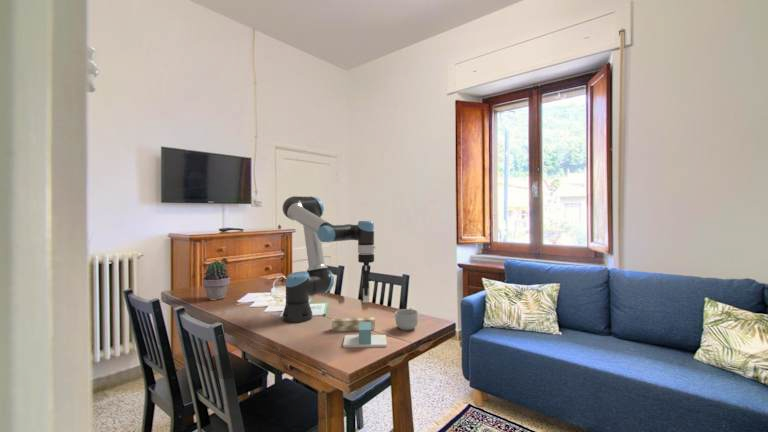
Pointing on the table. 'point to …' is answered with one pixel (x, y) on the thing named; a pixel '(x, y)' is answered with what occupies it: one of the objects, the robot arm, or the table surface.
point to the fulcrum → (365, 338)
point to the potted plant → (216, 280)
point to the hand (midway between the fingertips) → (366, 298)
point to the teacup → (406, 319)
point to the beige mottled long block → (351, 323)
